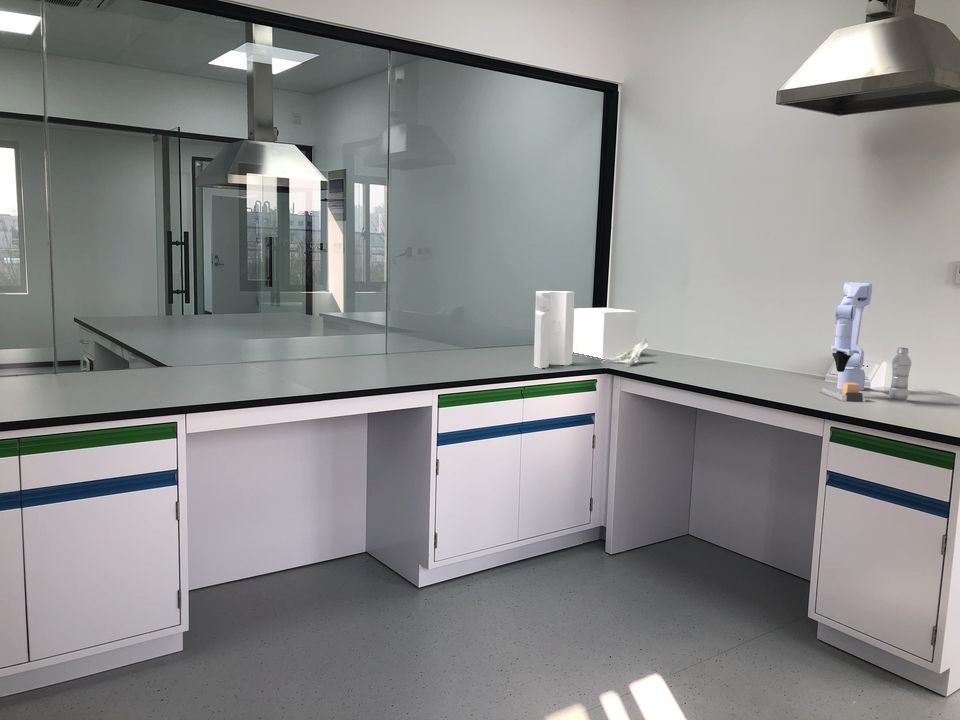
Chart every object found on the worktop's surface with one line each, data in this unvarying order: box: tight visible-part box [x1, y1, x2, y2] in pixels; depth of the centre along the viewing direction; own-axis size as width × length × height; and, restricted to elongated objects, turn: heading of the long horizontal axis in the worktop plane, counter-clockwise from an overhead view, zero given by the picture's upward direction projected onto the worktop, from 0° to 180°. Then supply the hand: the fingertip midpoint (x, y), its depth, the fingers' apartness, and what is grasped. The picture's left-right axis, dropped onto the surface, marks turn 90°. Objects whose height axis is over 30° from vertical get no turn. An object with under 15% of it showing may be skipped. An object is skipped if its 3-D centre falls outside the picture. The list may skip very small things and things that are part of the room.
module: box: [841, 382, 860, 395], centre depth 285 cm, size 4×4×6 cm
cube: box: [572, 307, 638, 360], centre depth 401 cm, size 25×21×24 cm
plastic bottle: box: [888, 347, 912, 401], centre depth 289 cm, size 6×7×20 cm
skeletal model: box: [600, 337, 649, 368], centre depth 372 cm, size 16×9×25 cm
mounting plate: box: [819, 387, 867, 403], centre depth 291 cm, size 10×18×4 cm, turn 0°
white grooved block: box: [533, 290, 575, 368], centre depth 359 cm, size 35×11×21 cm
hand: (840, 371), depth 293 cm, fingers closed
